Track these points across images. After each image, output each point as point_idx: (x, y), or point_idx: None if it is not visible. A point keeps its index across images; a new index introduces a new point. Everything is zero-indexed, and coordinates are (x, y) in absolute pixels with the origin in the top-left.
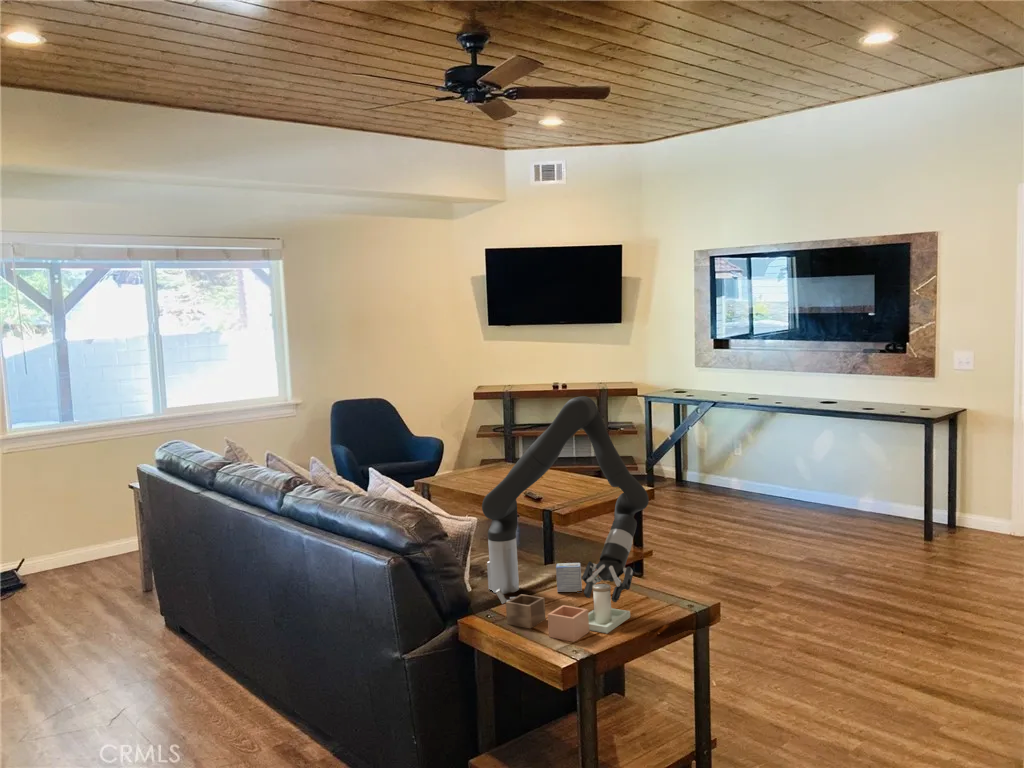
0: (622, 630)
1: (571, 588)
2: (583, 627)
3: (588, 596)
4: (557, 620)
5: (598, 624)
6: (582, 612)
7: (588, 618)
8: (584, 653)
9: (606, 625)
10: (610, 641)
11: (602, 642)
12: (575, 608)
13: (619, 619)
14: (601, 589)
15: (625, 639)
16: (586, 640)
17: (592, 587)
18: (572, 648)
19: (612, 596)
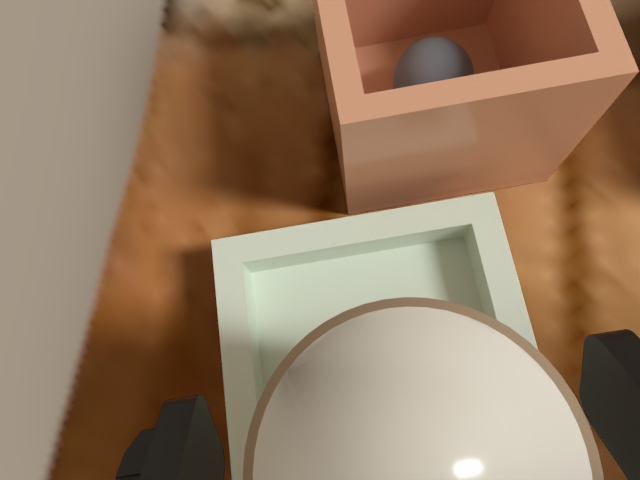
0: None
1: None
2: (332, 112)
3: (587, 387)
4: None
5: (299, 248)
6: (328, 39)
7: None
8: (202, 7)
9: (234, 267)
10: (169, 207)
11: (202, 168)
12: (461, 78)
13: (232, 464)
14: (314, 334)
15: (103, 288)
16: (303, 135)
17: (522, 338)
18: (296, 14)
19: (181, 412)
